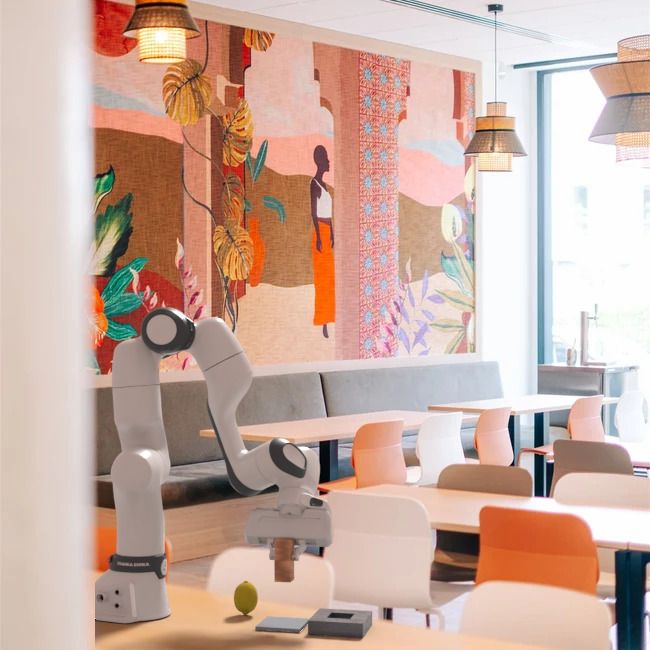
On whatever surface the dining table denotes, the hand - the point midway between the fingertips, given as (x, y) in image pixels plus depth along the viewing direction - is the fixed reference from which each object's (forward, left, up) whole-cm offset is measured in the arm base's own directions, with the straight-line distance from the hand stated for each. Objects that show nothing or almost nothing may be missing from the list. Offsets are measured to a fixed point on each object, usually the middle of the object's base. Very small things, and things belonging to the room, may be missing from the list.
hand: (283, 559), depth 236 cm
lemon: (-11, +9, -15) cm, 21 cm away
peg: (0, +1, -5) cm, 5 cm away
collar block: (+13, +1, -15) cm, 20 cm away
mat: (0, +1, -15) cm, 15 cm away
